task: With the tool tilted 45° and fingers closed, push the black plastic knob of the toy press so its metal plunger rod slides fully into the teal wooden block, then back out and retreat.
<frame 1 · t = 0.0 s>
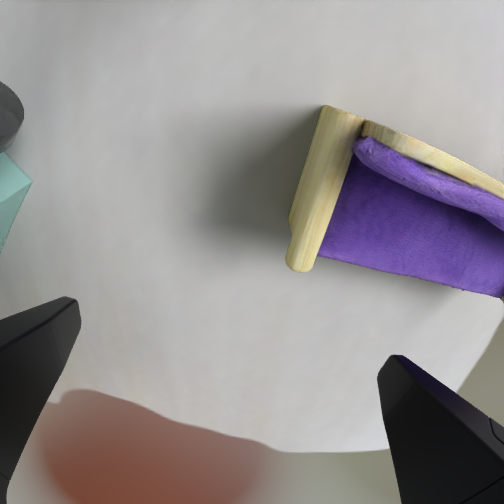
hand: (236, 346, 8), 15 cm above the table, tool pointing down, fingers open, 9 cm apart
toy sofa: (424, 201, 22), on the table
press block: (4, 151, 20), on the table
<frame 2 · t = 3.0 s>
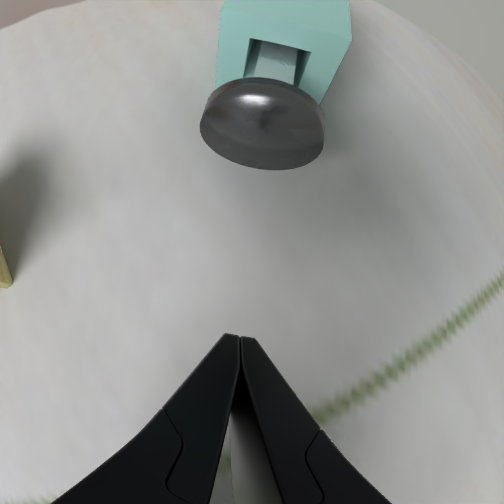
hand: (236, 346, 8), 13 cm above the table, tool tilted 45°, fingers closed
plunger: (274, 67, 19), point 6 cm above the table, slide at 0.0 cm
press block: (260, 119, 25), on the table
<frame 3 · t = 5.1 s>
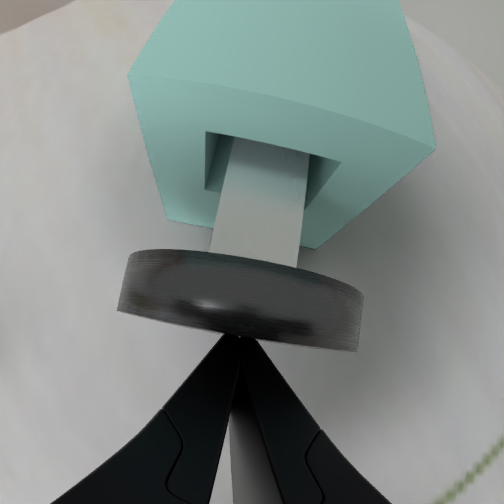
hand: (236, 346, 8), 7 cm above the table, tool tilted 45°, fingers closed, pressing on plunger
plunger: (268, 151, 11), point 7 cm above the table, slide at 1.3 cm, touching gripper
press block: (242, 234, 17), on the table
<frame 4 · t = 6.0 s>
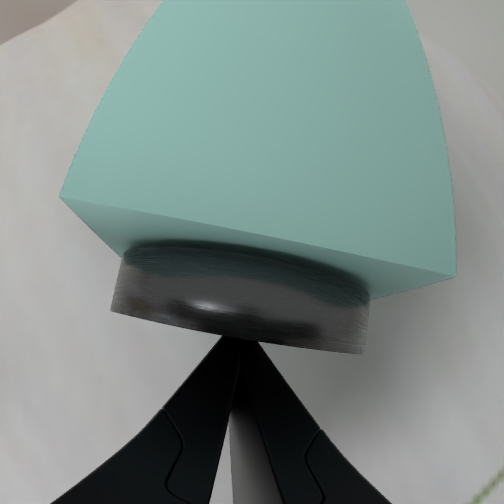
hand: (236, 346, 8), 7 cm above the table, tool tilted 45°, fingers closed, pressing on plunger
plunger: (269, 144, 11), point 6 cm above the table, slide at 4.8 cm, touching gripper
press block: (230, 299, 16), on the table
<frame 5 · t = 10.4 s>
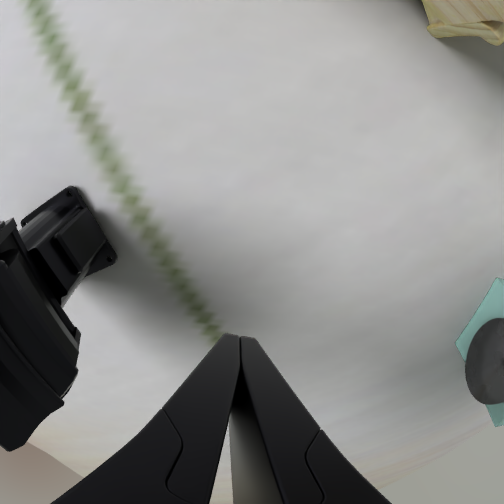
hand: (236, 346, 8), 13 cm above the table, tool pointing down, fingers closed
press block: (475, 312, 25), on the table
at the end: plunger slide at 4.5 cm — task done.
